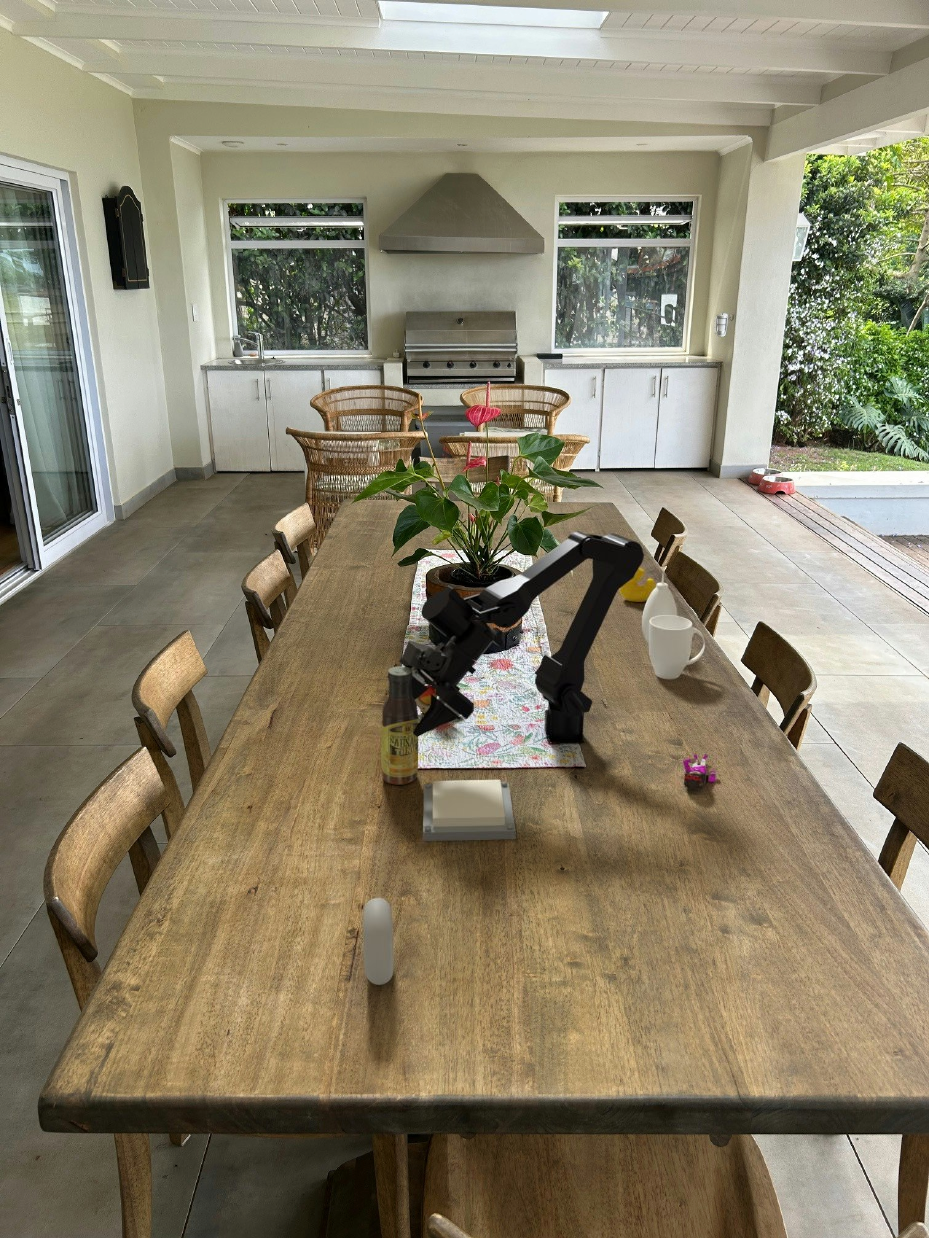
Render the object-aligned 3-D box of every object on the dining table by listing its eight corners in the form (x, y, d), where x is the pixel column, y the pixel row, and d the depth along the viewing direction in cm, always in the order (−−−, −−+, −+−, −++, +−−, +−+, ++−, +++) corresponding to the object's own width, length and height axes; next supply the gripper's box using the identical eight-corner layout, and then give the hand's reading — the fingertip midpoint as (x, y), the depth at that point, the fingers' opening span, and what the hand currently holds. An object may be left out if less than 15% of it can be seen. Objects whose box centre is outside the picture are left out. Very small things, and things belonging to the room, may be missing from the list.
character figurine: (683, 765, 162) (677, 792, 151) (687, 738, 161) (681, 763, 150) (717, 771, 161) (713, 799, 150) (720, 744, 160) (717, 770, 148)
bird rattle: (421, 730, 178) (463, 716, 175) (397, 680, 175) (439, 665, 172) (427, 716, 183) (468, 702, 181) (404, 667, 181) (445, 653, 178)
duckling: (609, 601, 240) (611, 565, 237) (613, 595, 245) (615, 559, 241) (652, 606, 237) (655, 569, 233) (656, 600, 241) (658, 563, 238)
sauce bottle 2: (678, 653, 207) (684, 578, 201) (643, 653, 207) (648, 577, 201) (671, 640, 214) (677, 567, 208) (637, 640, 215) (642, 567, 208)
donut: (366, 946, 117) (363, 881, 114) (393, 945, 118) (391, 880, 114) (364, 1004, 108) (361, 935, 105) (394, 1003, 108) (391, 934, 105)
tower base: (508, 790, 153) (508, 774, 152) (515, 838, 140) (515, 822, 138) (424, 792, 152) (423, 776, 151) (423, 840, 139) (422, 824, 138)
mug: (649, 682, 193) (652, 628, 189) (643, 666, 201) (646, 614, 197) (705, 683, 192) (710, 629, 188) (697, 667, 200) (702, 615, 196)
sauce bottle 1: (390, 790, 153) (386, 681, 146) (376, 773, 158) (371, 667, 151) (426, 781, 156) (423, 673, 149) (410, 764, 161) (408, 660, 154)
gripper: (408, 607, 158) (350, 678, 157) (457, 644, 142) (392, 722, 141) (450, 642, 164) (394, 710, 163) (500, 681, 148) (439, 756, 147)
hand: (403, 723), depth 154 cm, fingers open, 9 cm apart
